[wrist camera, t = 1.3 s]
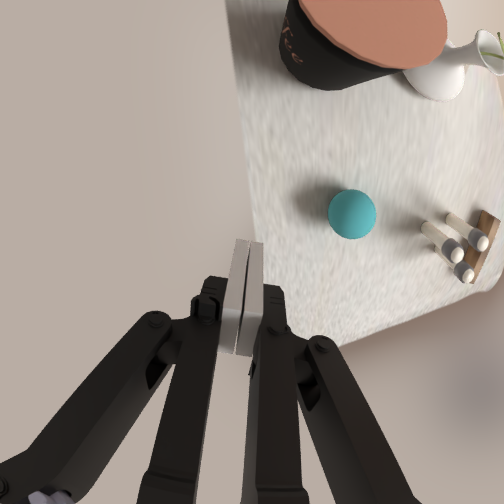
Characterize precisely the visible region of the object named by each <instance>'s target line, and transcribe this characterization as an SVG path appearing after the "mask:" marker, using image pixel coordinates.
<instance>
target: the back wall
mask: <svg viewBox="0 0 504 504" xmlns="http://www.w3.org/2000/svg"><path fill="white" fill-rule="evenodd" d="M500 222H501V221H500V220H499V219H497V218H496V217H494V216H492V215H491V214H489V213H487V212H485V211H483V210H482V213H481V216H480V219H479V222H478V225H477V227H476V228H478V229H479V230H481V231H482V232H483V233H485V234H486V235H487V237H488V240H489V244H488V247H487V248H486V250H484V251H481V252H478V251H477V250H476V249H474V248H473V247H472V246H471V245H469V247H468V250H467V252H466V254H465V257H464V259H463V260H465V261H466V262H467V263H468V264H469V265H470V266H471V267H472V268H473V269H474V277H473V279H472V281H471V282H469V283H472V284H474V282H475V280H476V278H477V276H478V274H479V272H480V270H481V268H482V266H483V264H484V261H485V259H486V257H487V255H488V252H489V250H490V248H491V245H492V243H493V240H494V238H495V235H496V233H497V230H498V227H499V225H500Z"/></svg>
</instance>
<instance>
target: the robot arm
mask: <svg viewBox="0 0 504 504" xmlns="http://www.w3.org/2000/svg"><path fill="white" fill-rule="evenodd" d="M248 244H249V241H246V240H241V239H236V244H235V249H234V253H233V258H232V263H231V268H230V273H229V278H222V277H216V276H209V277H208V278H207V279H205V280H204V283H203V287H202V289H201V293H200V295H197V296H195V297H193V299H192V300H191V311H190V316H189V317H187V318H184V319H175V320H171V318H170V317H169V315H168V314H166V313H164V312H161V311H150V312H147V313H145V314H144V315H143V316H142V317H141V318H140V319H139V320H138V321H137V322H136V323H135V324H134V325H133V326H132V328H131V329H130V330H129V331H128V332H127V333H126V334H125V335H124V336H123V338H121V340H120V341H119V342H118V343H117V344H116V345H115V346H114V347H113V348H112V349H111V351H110V352H109V353H108V354H107V355H106V356H105V357H104V358H103V360H102V361H101V362H100V363H99V364H98V365H97V367H95V369H94V370H93V371H92V372H91V373H90V374H89V375H88V377H87V378H86V379H85V380H84V381H83V382H82V383H81V385H80V386H79V387H78V388H77V389H76V390H75V392H74V393H73V394H72V395H71V397H70V398H69V399H68V400H67V401H66V402H65V404H64V405H63V406H62V407H61V408H60V409H59V411H58V412H57V413H56V414H55V415H54V417H53V418H52V419H51V420H50V422H49V423H48V424H47V425H46V427H45V428H44V429H43V430H42V432H41V433H40V434H39V435H38V436H37V438H36V439H35V440H34V442H33V443H32V444H31V445H30V447H29V448H28V449H27V450H25V451H24V452H22V453H20V454H18V455H16V456H14V457H12V458H10V459H8V460H6V461H4V462H2V463H0V504H75V503H77V502H78V501H80V500H81V499H82V498H83V497H84V496H85V495H86V494H87V493H88V492H89V490H90V489H91V488H92V486H93V485H94V484H95V482H96V481H97V479H98V478H99V476H100V474H101V473H102V471H103V470H104V468H105V467H106V465H107V464H108V462H109V461H110V459H111V457H112V456H113V455H114V453H115V452H116V450H117V449H118V447H119V445H120V444H121V442H122V440H123V439H124V438H125V436H126V435H127V433H128V432H129V430H130V429H131V427H132V426H133V424H134V423H135V421H136V420H137V418H138V417H139V415H140V414H141V412H142V410H143V409H144V407H145V406H146V404H147V403H148V401H149V400H150V398H151V397H152V395H153V394H154V392H155V391H156V389H157V388H158V386H159V385H160V383H161V382H162V380H163V379H164V377H165V376H166V374H167V373H168V371H169V370H170V368H171V367H172V364H176V366H175V369H174V372H173V376H172V379H171V383H170V386H169V390H168V394H167V398H166V401H165V405H164V409H163V412H162V416H161V420H160V424H159V428H158V432H157V436H156V440H155V444H154V448H153V452H152V456H151V460H150V464H149V468H148V470H147V471H146V472H145V473H144V476H143V478H142V481H141V485H140V490H139V494H138V499H137V503H136V504H196V496H197V488H198V480H199V473H200V465H201V458H202V451H203V444H204V437H205V429H206V423H207V416H208V409H209V403H210V396H211V389H212V383H213V377H214V370H215V364H216V357H217V352H223V353H229V354H233V351H234V346H235V341H236V336H237V331H238V337H237V347H236V355H243V356H249V357H252V354H253V360H252V363H251V367H250V371H249V374H248V375H250V386H249V400H248V415H247V430H246V444H245V458H244V473H243V487H242V498H241V502H240V504H309V496H308V493H307V491H306V490H305V489H304V488H303V486H302V476H301V475H302V474H301V452H300V435H299V417H298V403H297V399H298V402H299V404H300V408H301V410H302V413H303V416H304V419H305V421H306V424H307V427H308V430H309V432H310V435H311V438H312V440H313V443H314V446H315V449H316V451H317V454H318V456H319V459H320V462H321V465H322V467H323V470H324V473H325V476H326V478H327V481H328V483H329V487H330V489H331V492H332V494H333V497H334V500H335V503H336V504H422V503H420V502H419V501H418V500H417V499H416V498H415V497H414V496H413V494H412V491H411V489H410V487H409V485H408V483H407V481H406V479H405V477H404V474H403V472H402V470H401V468H400V466H399V464H398V462H397V460H396V458H395V456H394V454H393V452H392V450H391V448H390V446H389V444H388V442H387V440H386V438H385V436H384V434H383V432H382V430H381V428H380V426H379V424H378V423H377V421H376V418H375V416H374V414H373V413H372V411H371V409H370V407H369V405H368V403H367V401H366V399H365V397H364V395H363V393H362V392H361V390H360V388H359V386H358V384H357V382H356V380H355V378H354V376H353V375H352V373H351V371H350V369H349V367H348V365H347V364H346V362H345V360H344V359H343V356H342V354H341V352H340V351H339V349H338V347H337V345H336V344H335V343H334V341H333V340H331V339H330V338H328V337H326V336H323V335H316V336H312V337H311V338H310V339H309V340H306V339H303V338H301V337H298V336H296V335H295V334H293V333H292V331H291V329H290V327H289V326H288V325H287V319H286V309H285V300H284V292H283V291H282V289H281V288H280V286H275V285H269V284H263V243H258V242H252V241H251V243H250V249H249V255H248V259H247V253H248ZM246 263H247V265H246ZM238 326H239V328H238Z"/></svg>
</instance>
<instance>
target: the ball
mask: <svg viewBox="0 0 504 504" xmlns="http://www.w3.org/2000/svg"><path fill="white" fill-rule="evenodd" d="M328 219H329V223H330V225H331V227H332V228H333V230H334V231H335V232H336V233H337V234H338V235H340V236H342V237H344V238H347V239H358V238H361V237H363V236H365V235H366V234H368V233H369V232H370V231H371V229H372V228H373V226H374V224H375V220H376V209H375V206H374V204H373V202H372V200H371V199H370V198H369V197H368V196H367V195H366V194H365V193H363V192H361V191H358V190H352V189H350V190H345V191H342V192H340V193H338V194H337V195H336V196H335V197H334V198H333V199H332V201H331V203H330V205H329V208H328Z"/></svg>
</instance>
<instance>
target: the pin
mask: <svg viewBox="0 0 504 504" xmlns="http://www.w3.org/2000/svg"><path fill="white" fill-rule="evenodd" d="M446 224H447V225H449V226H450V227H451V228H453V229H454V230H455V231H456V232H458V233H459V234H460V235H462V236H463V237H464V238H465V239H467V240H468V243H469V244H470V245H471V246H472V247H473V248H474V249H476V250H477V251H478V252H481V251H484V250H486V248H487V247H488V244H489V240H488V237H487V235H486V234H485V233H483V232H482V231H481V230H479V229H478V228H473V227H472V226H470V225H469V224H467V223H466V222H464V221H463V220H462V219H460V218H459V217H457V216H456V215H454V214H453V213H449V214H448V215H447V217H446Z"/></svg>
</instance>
